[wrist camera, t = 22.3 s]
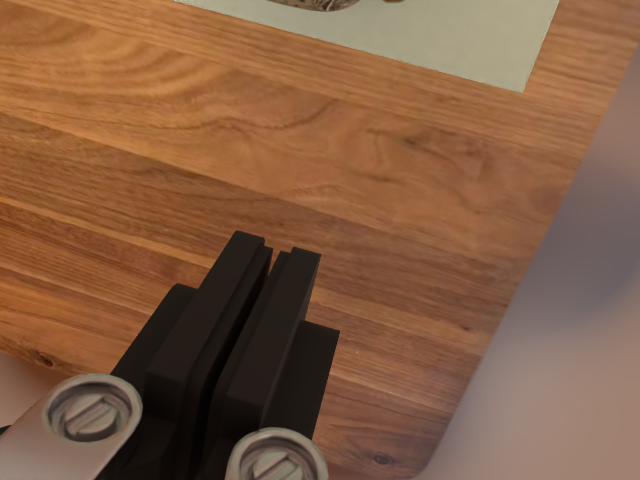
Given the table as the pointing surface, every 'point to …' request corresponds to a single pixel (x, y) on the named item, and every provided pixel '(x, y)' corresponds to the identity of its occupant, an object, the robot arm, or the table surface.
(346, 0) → the brown jagged-rimmed vessel
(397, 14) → the mat
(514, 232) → the table surface
